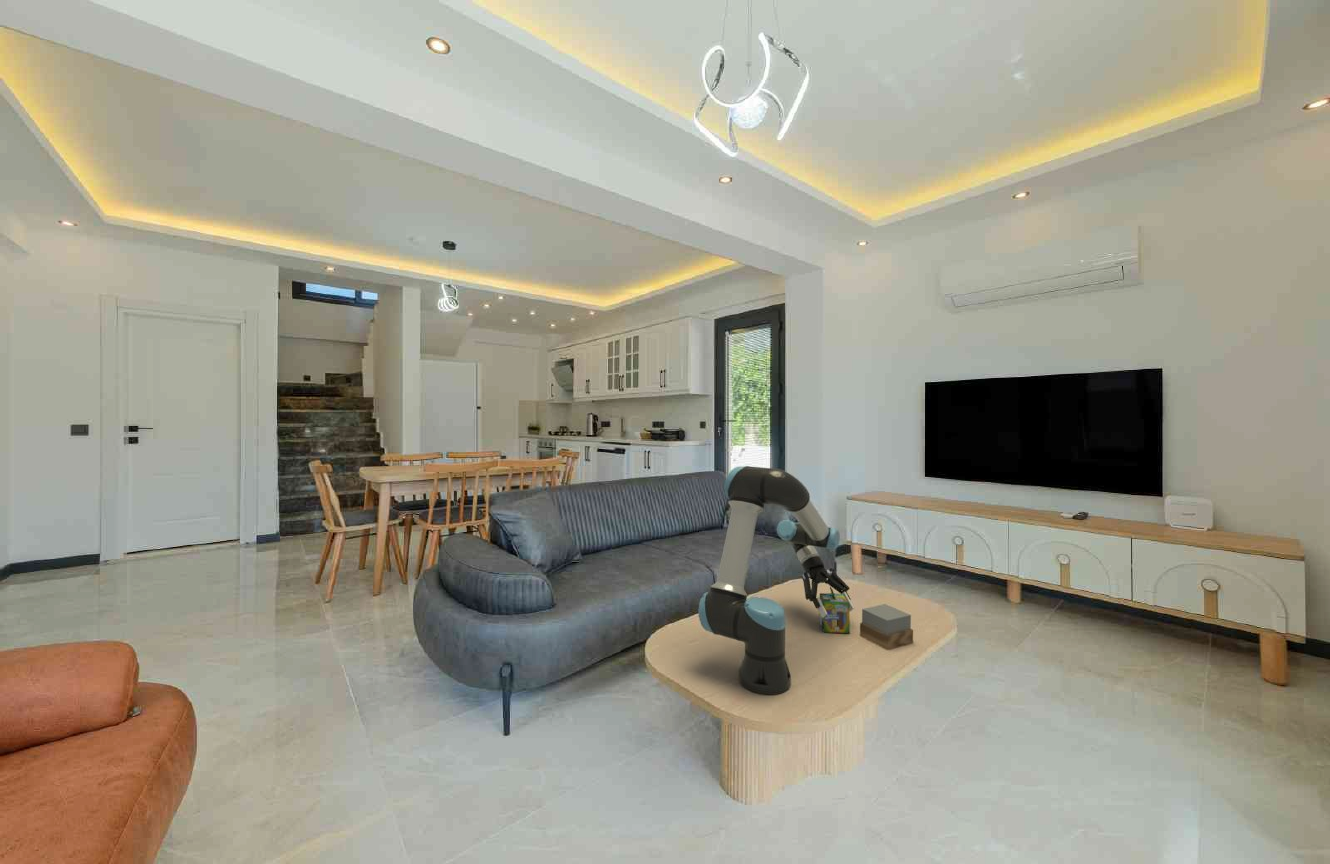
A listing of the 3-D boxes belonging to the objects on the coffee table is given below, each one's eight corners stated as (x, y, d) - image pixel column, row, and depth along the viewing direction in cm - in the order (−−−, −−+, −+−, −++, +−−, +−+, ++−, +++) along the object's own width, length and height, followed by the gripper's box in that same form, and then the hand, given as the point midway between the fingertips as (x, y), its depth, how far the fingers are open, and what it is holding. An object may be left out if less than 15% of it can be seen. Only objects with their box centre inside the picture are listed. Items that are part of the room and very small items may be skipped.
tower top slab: (887, 635, 174) (887, 620, 174) (862, 622, 184) (862, 608, 184) (910, 629, 179) (910, 614, 179) (884, 617, 189) (885, 603, 189)
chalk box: (849, 634, 186) (850, 593, 185) (823, 632, 187) (823, 592, 186) (844, 623, 195) (844, 584, 194) (818, 622, 196) (819, 583, 195)
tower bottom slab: (887, 651, 174) (887, 636, 173) (859, 636, 184) (860, 622, 184) (912, 644, 179) (913, 629, 178) (884, 630, 190) (884, 617, 189)
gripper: (829, 561, 209) (857, 611, 196) (780, 569, 199) (807, 623, 186) (839, 551, 204) (869, 602, 191) (789, 558, 194) (817, 613, 181)
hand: (838, 612), depth 188 cm, fingers closed on chalk box, 12 cm apart
